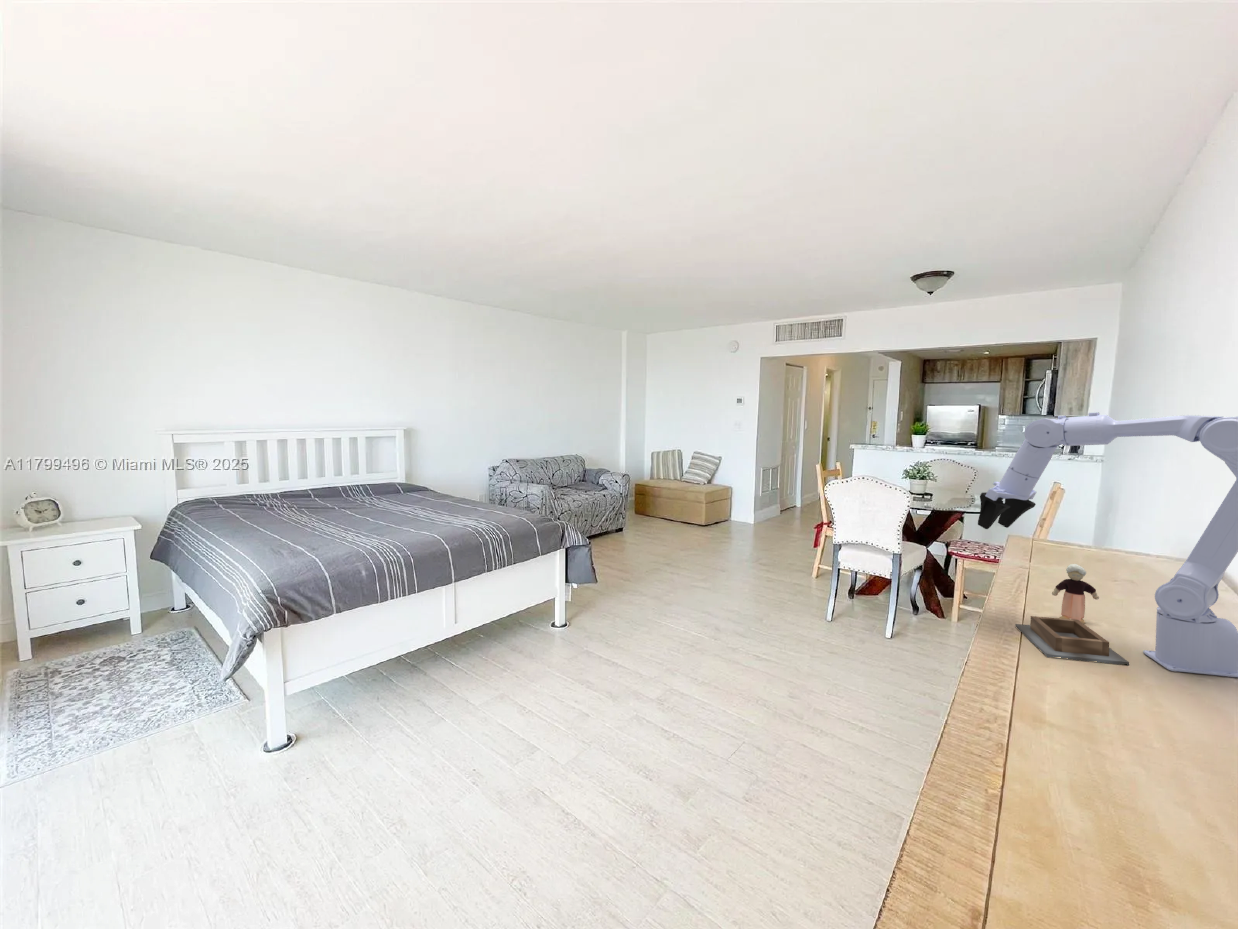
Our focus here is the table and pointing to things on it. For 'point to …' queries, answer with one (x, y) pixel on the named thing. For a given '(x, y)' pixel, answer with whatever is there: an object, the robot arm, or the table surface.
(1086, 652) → the wooden tray
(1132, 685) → the table surface
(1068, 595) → the grandmother figurine
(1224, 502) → the robot arm
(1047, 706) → the table surface
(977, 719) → the table surface
